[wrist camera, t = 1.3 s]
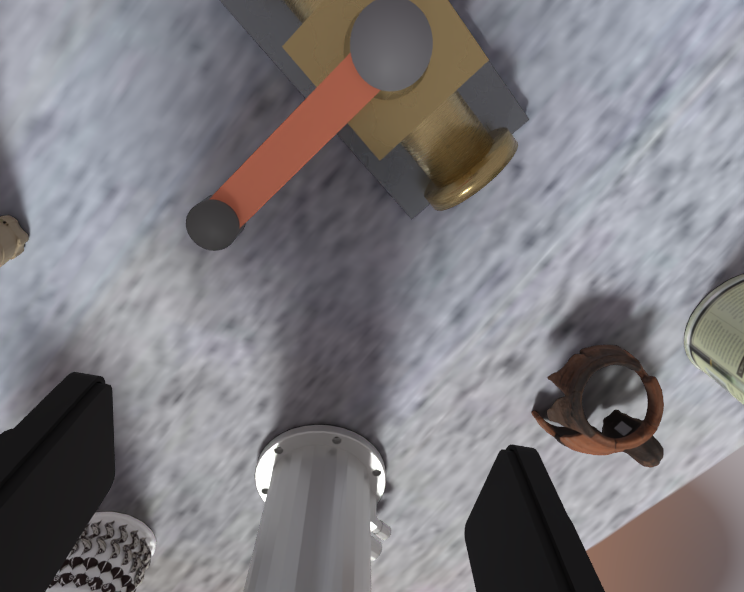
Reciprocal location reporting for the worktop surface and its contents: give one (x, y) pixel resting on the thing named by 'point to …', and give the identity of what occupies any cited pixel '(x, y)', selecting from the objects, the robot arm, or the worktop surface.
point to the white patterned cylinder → (107, 556)
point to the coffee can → (720, 336)
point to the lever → (320, 116)
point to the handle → (11, 239)
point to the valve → (401, 99)
